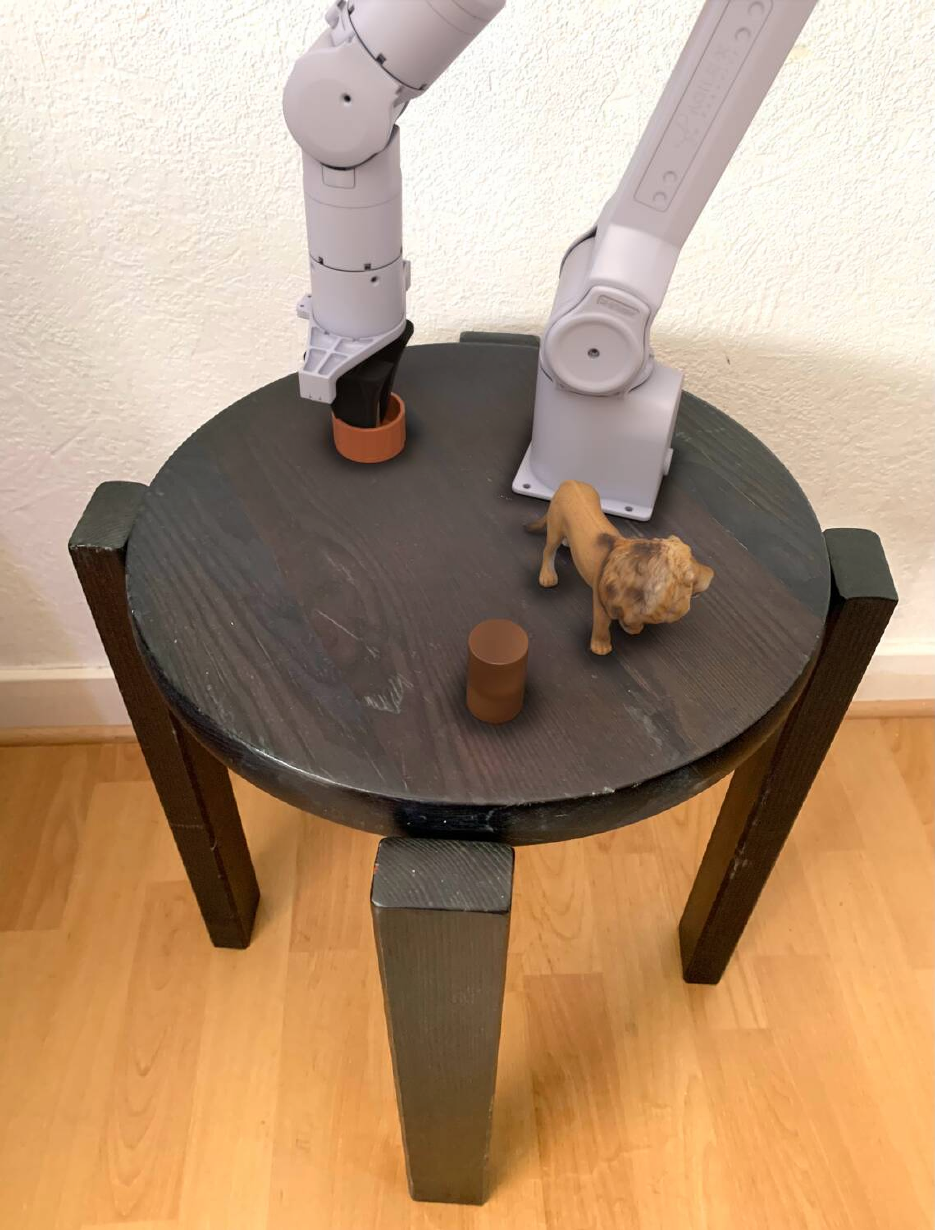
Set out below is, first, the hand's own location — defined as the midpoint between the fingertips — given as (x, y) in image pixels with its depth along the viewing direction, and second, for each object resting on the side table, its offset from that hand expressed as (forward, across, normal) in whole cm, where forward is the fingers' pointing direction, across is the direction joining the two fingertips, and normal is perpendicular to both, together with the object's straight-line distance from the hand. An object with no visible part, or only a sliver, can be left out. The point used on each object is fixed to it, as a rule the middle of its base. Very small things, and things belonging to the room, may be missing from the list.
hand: (363, 427), depth 73 cm
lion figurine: (+1, +10, +20) cm, 22 cm away
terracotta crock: (+1, 0, 0) cm, 1 cm away
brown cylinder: (+1, +19, +16) cm, 25 cm away
